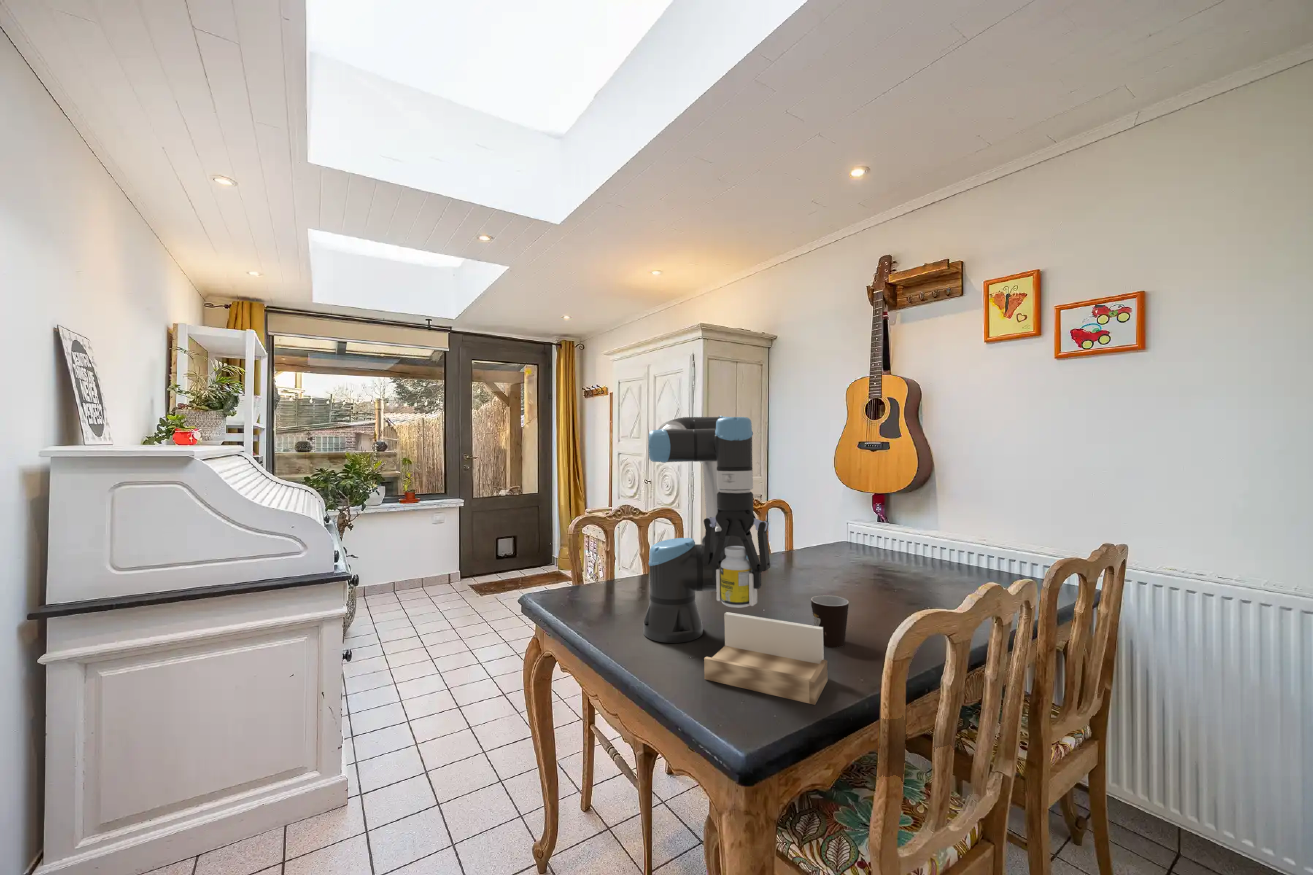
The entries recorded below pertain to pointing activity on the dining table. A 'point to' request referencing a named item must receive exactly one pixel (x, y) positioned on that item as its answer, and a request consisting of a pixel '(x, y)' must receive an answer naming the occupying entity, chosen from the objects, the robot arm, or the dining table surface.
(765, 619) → the wall board
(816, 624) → the coffee mug
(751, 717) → the dining table surface
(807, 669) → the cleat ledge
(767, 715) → the dining table surface
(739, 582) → the pill bottle
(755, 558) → the robot arm
